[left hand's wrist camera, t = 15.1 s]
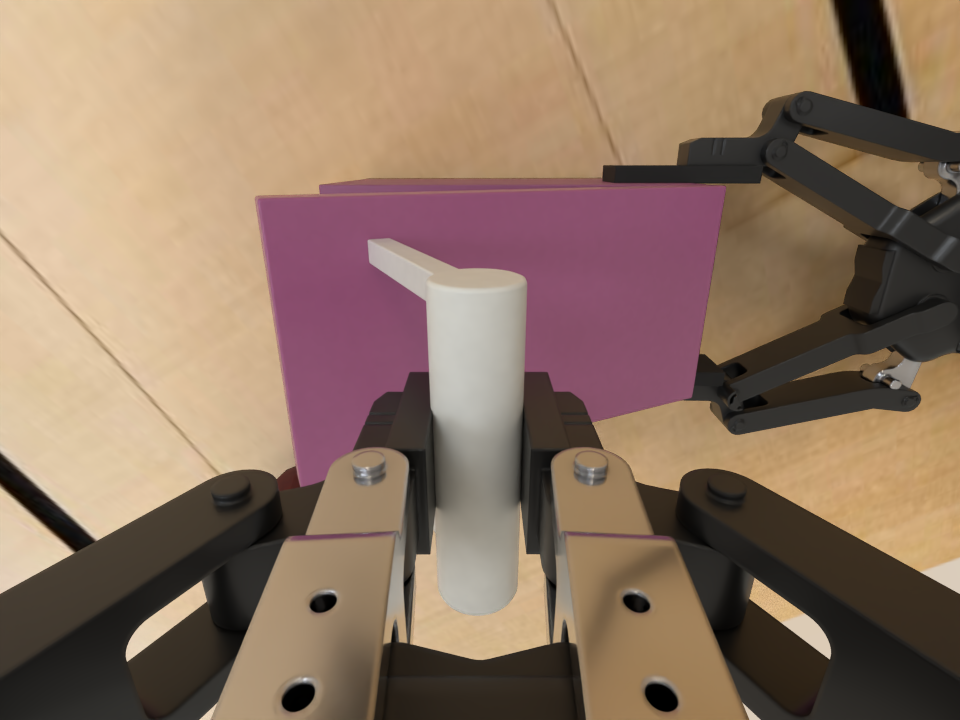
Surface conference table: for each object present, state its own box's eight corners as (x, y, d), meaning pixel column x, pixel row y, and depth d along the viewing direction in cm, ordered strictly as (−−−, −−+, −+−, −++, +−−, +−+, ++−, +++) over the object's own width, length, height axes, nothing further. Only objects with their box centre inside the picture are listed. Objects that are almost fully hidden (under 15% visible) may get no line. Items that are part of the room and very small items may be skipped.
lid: (297, 474, 18) (353, 710, 10) (254, 195, 14) (288, 230, 7) (671, 387, 24) (874, 488, 17) (701, 184, 21) (970, 195, 14)
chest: (381, 325, 34) (340, 384, 25) (370, 178, 31) (318, 184, 22) (627, 326, 34) (677, 386, 25) (642, 178, 30) (707, 184, 21)
